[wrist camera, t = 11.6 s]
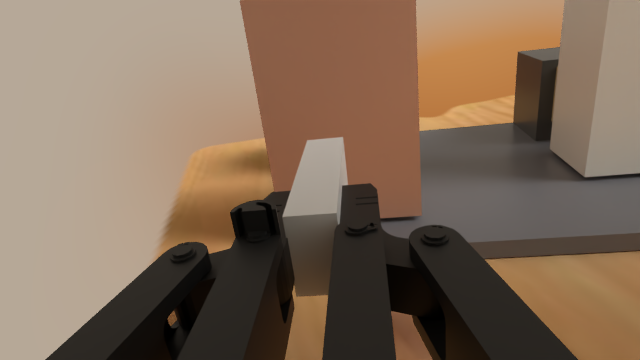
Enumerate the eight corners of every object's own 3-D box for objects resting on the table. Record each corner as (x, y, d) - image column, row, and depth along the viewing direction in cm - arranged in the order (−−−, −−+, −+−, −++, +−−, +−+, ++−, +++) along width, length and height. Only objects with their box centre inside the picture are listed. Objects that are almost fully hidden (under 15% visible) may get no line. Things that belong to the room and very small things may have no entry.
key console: (305, 151, 39) (295, 76, 37) (616, 124, 36) (630, 39, 33) (267, 269, 23) (242, 147, 20) (842, 239, 19) (907, 87, 16)
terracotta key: (292, 188, 29) (262, -1, 24) (411, 179, 28) (403, -20, 23) (280, 224, 24) (239, 0, 20) (421, 215, 23) (415, -23, 19)
